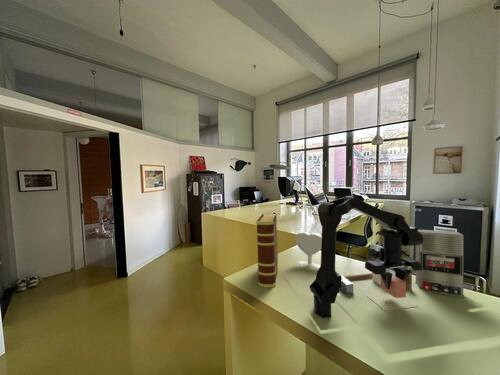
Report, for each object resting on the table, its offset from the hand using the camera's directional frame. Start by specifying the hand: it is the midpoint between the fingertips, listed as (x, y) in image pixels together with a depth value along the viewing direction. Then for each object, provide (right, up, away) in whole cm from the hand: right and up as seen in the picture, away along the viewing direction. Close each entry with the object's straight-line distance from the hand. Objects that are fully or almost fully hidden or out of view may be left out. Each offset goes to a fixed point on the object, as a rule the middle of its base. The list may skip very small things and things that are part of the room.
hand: (392, 287), depth 76 cm
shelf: (-3, -6, +12) cm, 14 cm away
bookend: (-16, -6, +10) cm, 20 cm away
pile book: (0, -7, 0) cm, 7 cm away
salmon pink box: (0, -2, 0) cm, 2 cm away
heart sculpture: (-20, -6, +39) cm, 44 cm away
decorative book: (-44, -7, +26) cm, 52 cm away
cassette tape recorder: (+24, -6, +8) cm, 26 cm away
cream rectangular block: (+5, -5, +13) cm, 15 cm away
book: (+9, -5, +14) cm, 17 cm away
